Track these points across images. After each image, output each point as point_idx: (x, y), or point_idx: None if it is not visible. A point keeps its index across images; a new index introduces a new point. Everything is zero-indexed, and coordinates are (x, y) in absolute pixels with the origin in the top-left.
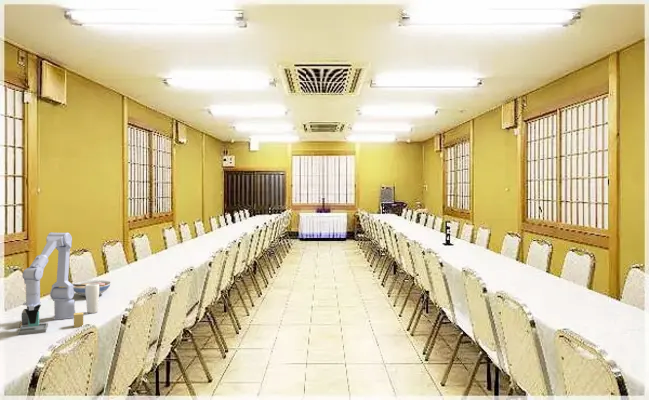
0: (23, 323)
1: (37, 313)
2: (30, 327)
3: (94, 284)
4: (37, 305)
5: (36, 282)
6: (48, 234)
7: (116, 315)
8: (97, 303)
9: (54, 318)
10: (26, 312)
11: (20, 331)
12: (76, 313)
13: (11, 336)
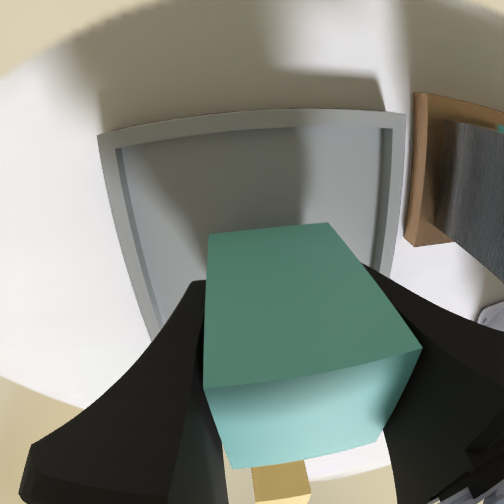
0: (455, 136)
1: (232, 460)
2: (336, 211)
3: None
4: (438, 498)
5: None
6: None
7: (368, 470)
8: None
9: (489, 315)
10: (56, 433)
11: (108, 160)
12: (293, 500)
13: (83, 79)
